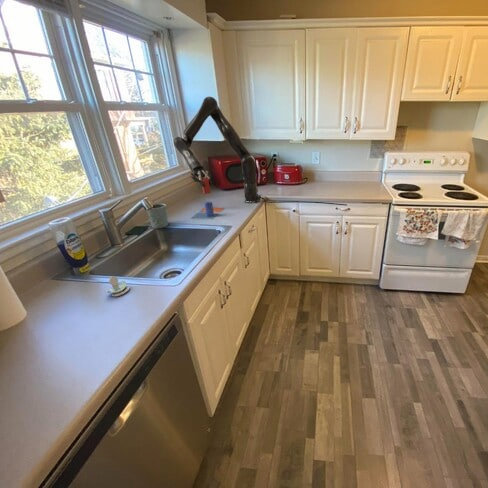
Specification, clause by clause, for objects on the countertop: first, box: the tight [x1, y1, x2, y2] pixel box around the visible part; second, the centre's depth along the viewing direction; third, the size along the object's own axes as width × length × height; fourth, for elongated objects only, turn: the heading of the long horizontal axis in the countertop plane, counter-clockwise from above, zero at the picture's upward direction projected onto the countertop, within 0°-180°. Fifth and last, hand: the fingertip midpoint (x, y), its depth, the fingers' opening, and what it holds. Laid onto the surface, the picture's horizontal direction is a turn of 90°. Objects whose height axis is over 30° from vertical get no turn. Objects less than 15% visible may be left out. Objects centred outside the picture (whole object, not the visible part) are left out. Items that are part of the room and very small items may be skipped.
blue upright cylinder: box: [204, 200, 215, 218], centre depth 177 cm, size 5×5×9 cm
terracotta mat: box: [201, 206, 225, 213], centre depth 191 cm, size 13×9×1 cm
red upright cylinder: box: [201, 177, 211, 194], centre depth 181 cm, size 5×5×9 cm
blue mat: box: [191, 212, 219, 219], centre depth 179 cm, size 13×10×1 cm
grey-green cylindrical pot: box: [146, 203, 169, 229], centre depth 161 cm, size 10×10×12 cm
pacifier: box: [104, 275, 131, 297], centre depth 101 cm, size 7×6×6 cm
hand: (207, 185), depth 180 cm, fingers closed on red upright cylinder, 4 cm apart
